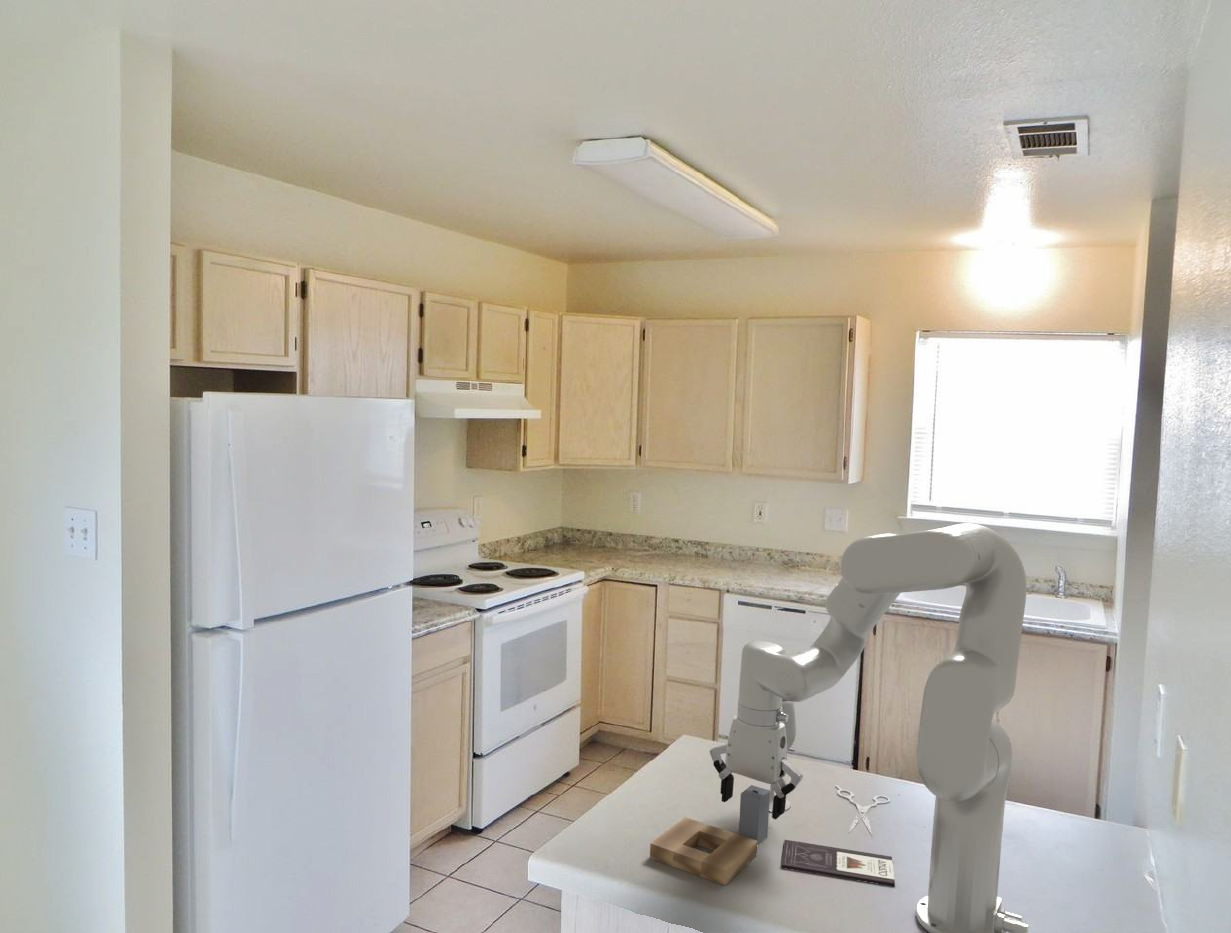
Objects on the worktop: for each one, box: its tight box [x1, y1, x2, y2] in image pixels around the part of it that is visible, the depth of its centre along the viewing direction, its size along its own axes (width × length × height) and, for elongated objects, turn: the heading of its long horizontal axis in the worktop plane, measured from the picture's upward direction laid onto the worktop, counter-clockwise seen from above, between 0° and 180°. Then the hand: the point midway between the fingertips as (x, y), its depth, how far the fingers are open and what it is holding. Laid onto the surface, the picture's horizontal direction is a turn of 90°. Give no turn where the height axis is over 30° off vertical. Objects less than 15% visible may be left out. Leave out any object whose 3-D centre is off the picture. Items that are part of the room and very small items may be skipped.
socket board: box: [649, 816, 758, 886], centre depth 150 cm, size 14×12×2 cm
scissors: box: [834, 784, 891, 836], centre depth 170 cm, size 11×1×20 cm
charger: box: [738, 784, 770, 846], centre depth 157 cm, size 4×4×9 cm
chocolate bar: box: [780, 839, 896, 887], centre depth 150 cm, size 9×1×18 cm
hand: (751, 807), depth 157 cm, fingers open, 9 cm apart
